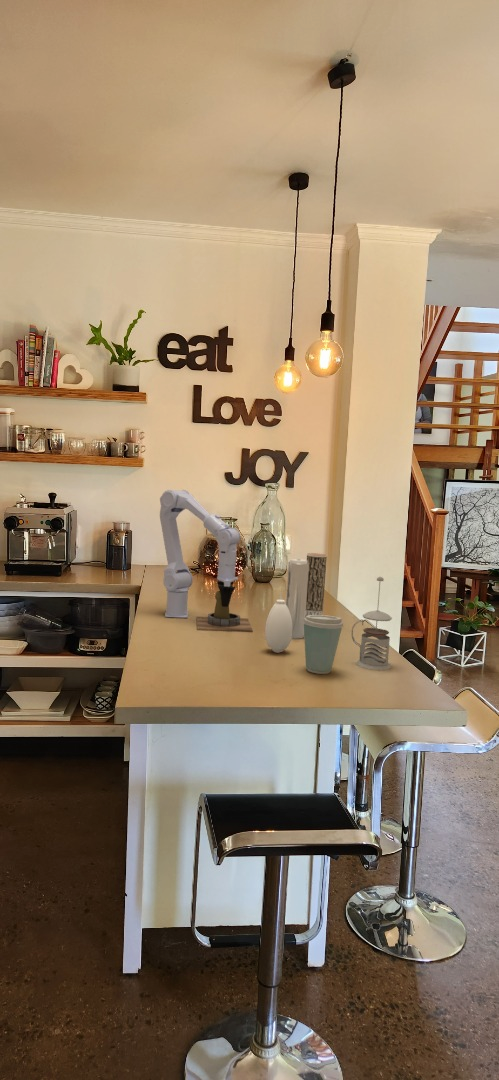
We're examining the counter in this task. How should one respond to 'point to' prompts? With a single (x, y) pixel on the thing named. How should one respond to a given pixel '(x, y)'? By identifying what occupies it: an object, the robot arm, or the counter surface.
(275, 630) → the white vase
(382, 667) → the french press
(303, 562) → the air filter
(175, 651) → the counter surface
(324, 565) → the grey patterned cylinder
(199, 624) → the walnut mat
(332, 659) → the disposable coffee cup
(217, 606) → the cork
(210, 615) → the collar
